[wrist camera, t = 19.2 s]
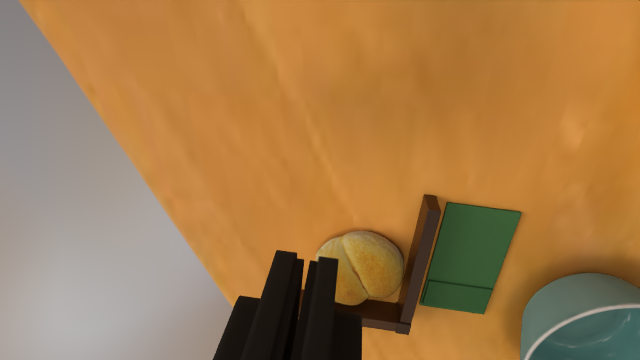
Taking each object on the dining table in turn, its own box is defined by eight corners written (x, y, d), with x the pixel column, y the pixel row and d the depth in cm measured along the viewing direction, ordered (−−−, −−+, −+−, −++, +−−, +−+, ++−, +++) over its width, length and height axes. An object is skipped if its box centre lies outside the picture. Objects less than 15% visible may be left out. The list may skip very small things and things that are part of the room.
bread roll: (412, 279, 44) (416, 305, 40) (334, 297, 46) (332, 324, 43) (388, 216, 41) (390, 239, 37) (306, 240, 43) (301, 263, 39)
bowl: (509, 369, 48) (534, 439, 41) (483, 266, 42) (508, 326, 35) (658, 346, 45) (717, 419, 37) (654, 229, 39) (722, 288, 31)
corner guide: (436, 195, 39) (441, 212, 36) (406, 313, 46) (408, 335, 43) (282, 175, 40) (276, 190, 37) (275, 293, 47) (269, 314, 44)
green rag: (520, 211, 39) (522, 214, 39) (483, 312, 45) (484, 316, 44) (447, 201, 39) (448, 204, 39) (419, 303, 45) (420, 307, 45)
